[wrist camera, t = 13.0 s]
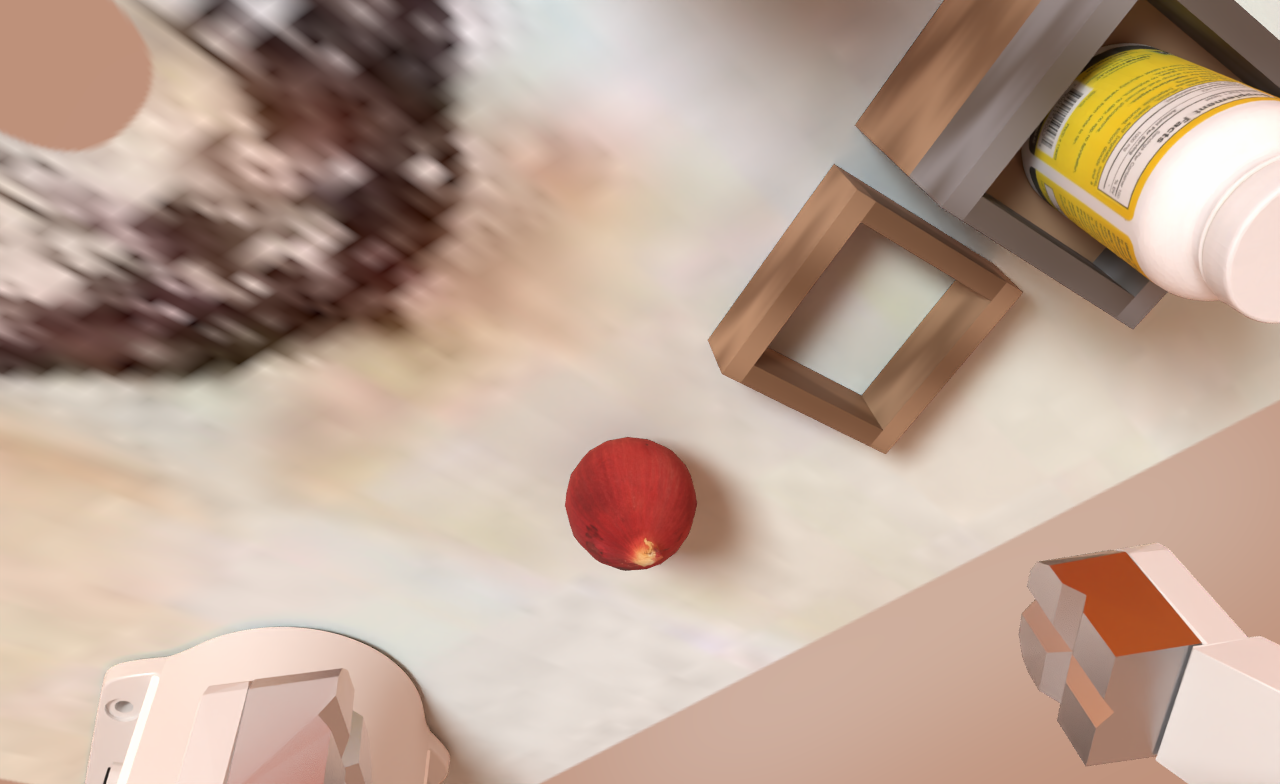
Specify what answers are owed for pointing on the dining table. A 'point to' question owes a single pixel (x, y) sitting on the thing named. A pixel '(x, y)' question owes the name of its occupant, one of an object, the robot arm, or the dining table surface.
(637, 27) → the dining table surface
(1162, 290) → the stepped holder
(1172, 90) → the pill bottle
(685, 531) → the onion
